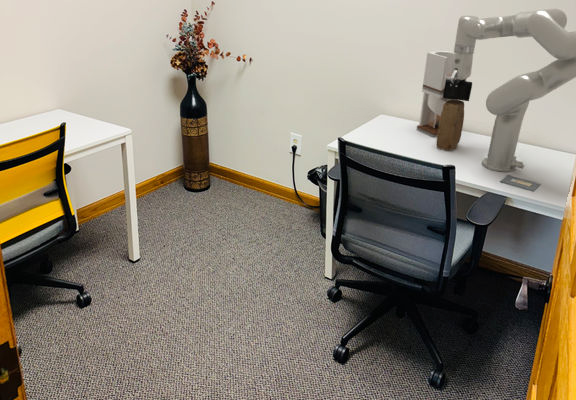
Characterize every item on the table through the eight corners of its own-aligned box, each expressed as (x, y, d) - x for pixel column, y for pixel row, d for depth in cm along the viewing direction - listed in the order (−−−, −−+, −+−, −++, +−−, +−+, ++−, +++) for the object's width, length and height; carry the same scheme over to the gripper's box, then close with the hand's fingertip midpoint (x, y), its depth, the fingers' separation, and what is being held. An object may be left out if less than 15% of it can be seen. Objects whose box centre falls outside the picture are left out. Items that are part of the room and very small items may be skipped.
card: (540, 184, 198) (540, 183, 198) (533, 191, 193) (533, 190, 193) (507, 175, 205) (507, 174, 205) (500, 182, 200) (500, 180, 199)
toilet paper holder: (416, 129, 250) (427, 52, 235) (434, 126, 255) (446, 50, 239) (433, 137, 241) (445, 57, 226) (451, 134, 246) (465, 55, 230)
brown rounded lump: (449, 152, 225) (457, 105, 216) (433, 148, 229) (440, 101, 221) (461, 146, 232) (469, 100, 224) (445, 141, 237) (453, 96, 228)
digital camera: (469, 98, 223) (472, 81, 220) (469, 101, 218) (472, 84, 215) (443, 94, 225) (446, 78, 222) (442, 98, 220) (445, 80, 217)
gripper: (464, 53, 205) (456, 100, 213) (481, 47, 217) (473, 92, 225) (445, 50, 209) (438, 96, 217) (463, 45, 221) (456, 88, 229)
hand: (456, 94), depth 221 cm, fingers closed on digital camera, 6 cm apart
